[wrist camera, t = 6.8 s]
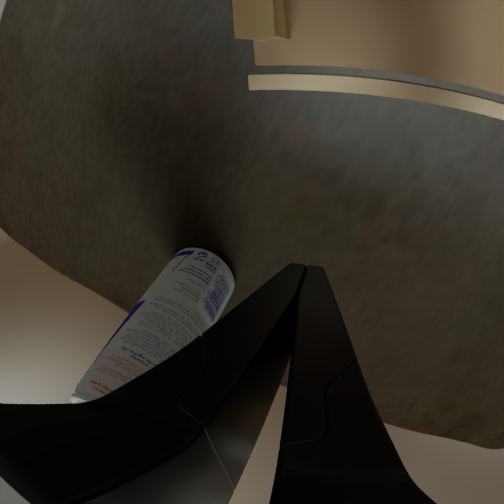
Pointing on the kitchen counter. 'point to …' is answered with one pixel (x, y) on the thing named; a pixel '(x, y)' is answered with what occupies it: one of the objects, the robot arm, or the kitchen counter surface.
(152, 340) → the beverage can
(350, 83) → the box
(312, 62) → the lid
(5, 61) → the kitchen counter surface
